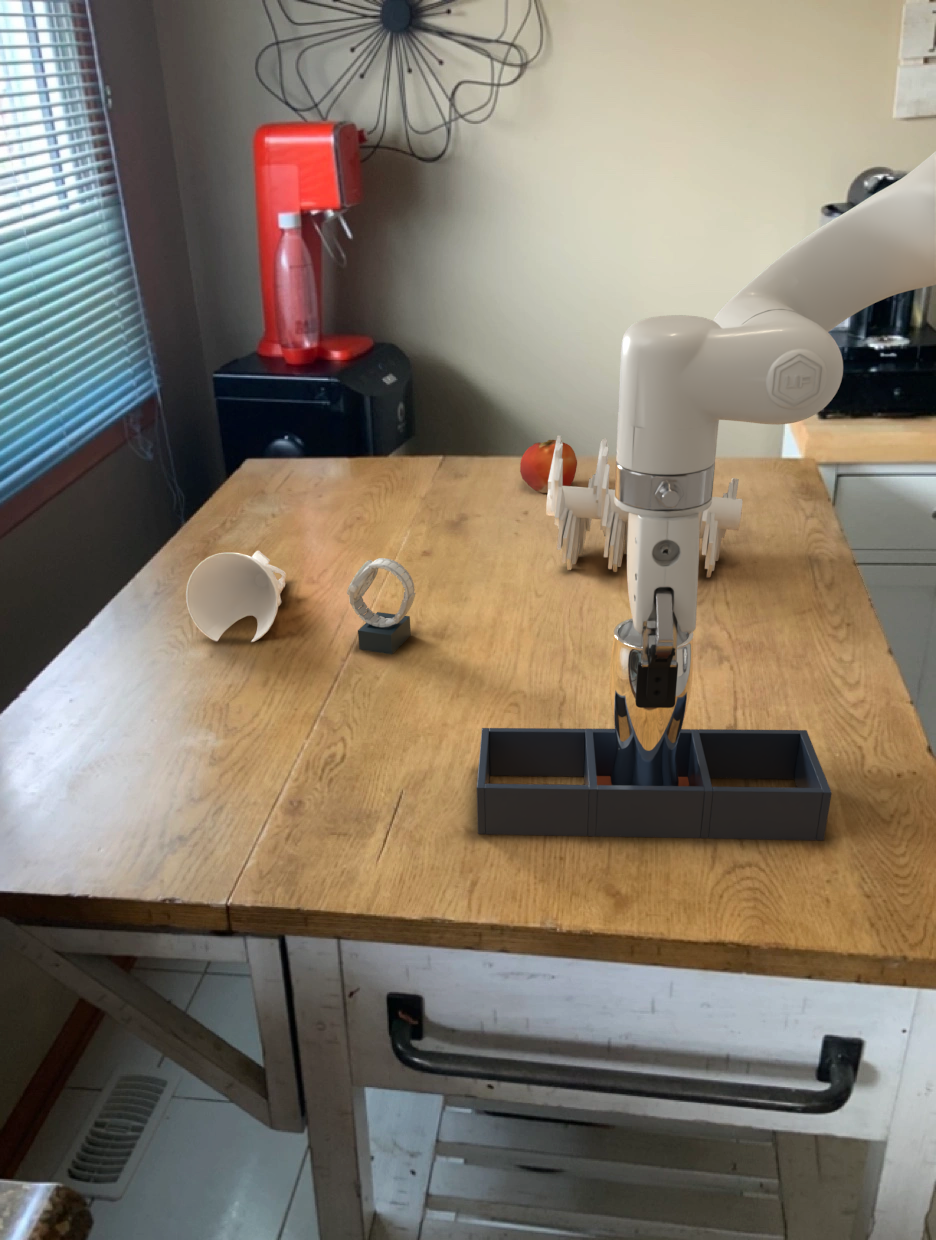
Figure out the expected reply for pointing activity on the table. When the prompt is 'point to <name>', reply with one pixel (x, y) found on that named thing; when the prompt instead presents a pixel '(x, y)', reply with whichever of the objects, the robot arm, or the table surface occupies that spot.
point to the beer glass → (646, 713)
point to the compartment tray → (652, 807)
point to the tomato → (546, 465)
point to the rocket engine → (234, 592)
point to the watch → (381, 627)
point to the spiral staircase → (622, 514)
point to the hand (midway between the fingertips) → (650, 682)
